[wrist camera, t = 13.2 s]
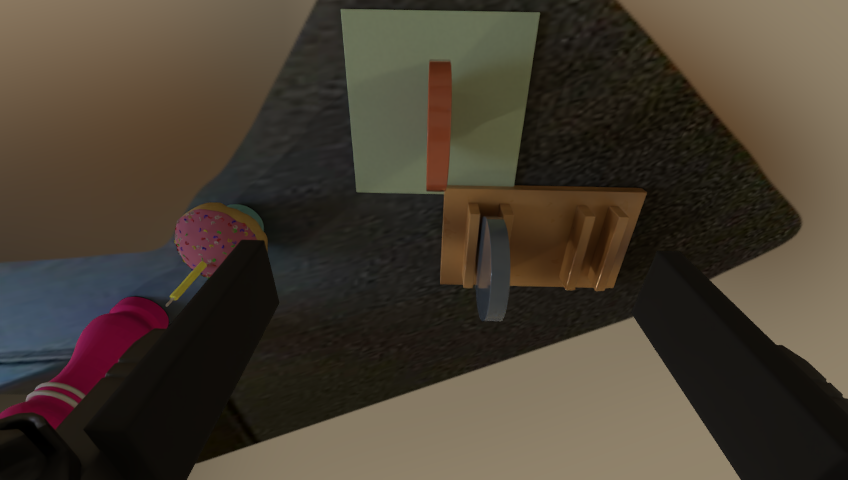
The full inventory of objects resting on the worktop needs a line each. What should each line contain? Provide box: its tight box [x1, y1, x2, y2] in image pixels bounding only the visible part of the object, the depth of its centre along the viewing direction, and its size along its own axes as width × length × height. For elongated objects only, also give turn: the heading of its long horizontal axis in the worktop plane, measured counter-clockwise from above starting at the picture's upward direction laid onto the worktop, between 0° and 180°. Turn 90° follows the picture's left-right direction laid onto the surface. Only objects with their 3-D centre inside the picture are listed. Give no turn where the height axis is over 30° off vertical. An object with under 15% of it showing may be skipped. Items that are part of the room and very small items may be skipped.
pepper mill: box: [0, 297, 169, 429], centre depth 39 cm, size 7×7×20 cm
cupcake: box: [166, 203, 268, 306], centre depth 35 cm, size 9×8×12 cm
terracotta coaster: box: [426, 59, 452, 192], centre depth 30 cm, size 10×2×10 cm, turn 179°
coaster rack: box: [440, 185, 647, 291], centre depth 39 cm, size 12×20×4 cm, turn 89°
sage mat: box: [341, 9, 540, 194], centre depth 34 cm, size 16×16×1 cm
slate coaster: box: [475, 216, 510, 322], centre depth 36 cm, size 10×2×10 cm, turn 179°
